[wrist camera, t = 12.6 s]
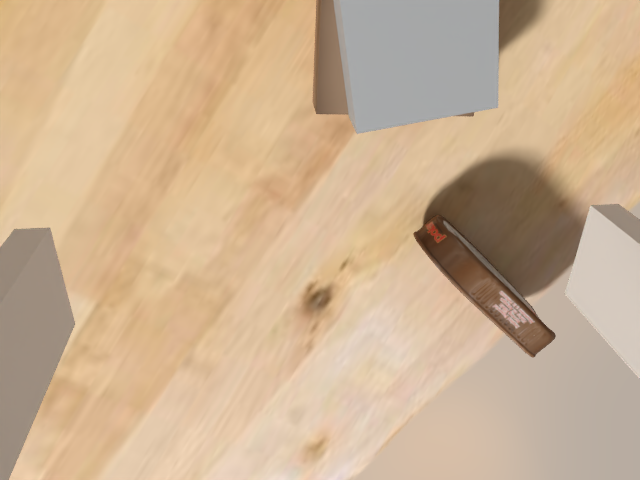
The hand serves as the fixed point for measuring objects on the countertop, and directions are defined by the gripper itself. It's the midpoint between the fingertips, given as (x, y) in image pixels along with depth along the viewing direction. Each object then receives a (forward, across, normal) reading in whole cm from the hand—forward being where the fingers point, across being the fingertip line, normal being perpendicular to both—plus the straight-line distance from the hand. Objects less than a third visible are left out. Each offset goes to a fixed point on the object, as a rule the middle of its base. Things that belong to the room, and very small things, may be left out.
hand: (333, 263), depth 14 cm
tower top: (+24, +8, +1) cm, 26 cm away
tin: (+27, +16, -18) cm, 36 cm away
